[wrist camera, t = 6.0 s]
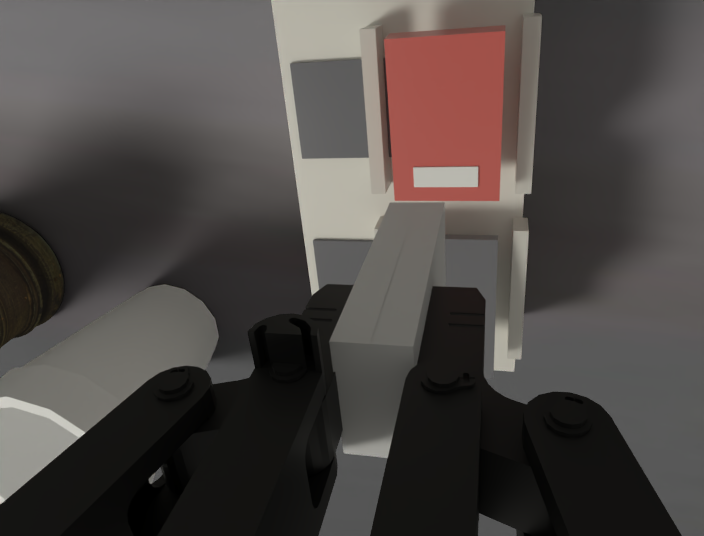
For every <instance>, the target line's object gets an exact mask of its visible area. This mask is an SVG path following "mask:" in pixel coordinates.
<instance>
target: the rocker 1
mask: <svg viewBox="0 0 704 536" xmlns="http://www.w3.org/2000/svg"><path fill="white" fill-rule="evenodd" d="M384 47H385V62H386V77H387V92H388V107H389V122H390V137H391V153H392V168H393V183H394V198H395V201H499V200H500V171H501V143H502V114H503V86H504V57H505V25H501V26H487V27H473V28H459V29H445V30H431V31H417V32H402V33H390V34H389V35H388V36H387V37H386V38H385V39H384Z"/></svg>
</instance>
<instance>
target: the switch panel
mask: <svg viewBox="0 0 704 536" xmlns="http://www.w3.org/2000/svg"><path fill="white" fill-rule="evenodd" d="M271 2H272V9H273V17H274V24H275V31H276V38H277V46H278V53H279V60H280V67H281V75H282V82H283V89H284V97H285V104H286V111H287V118H288V126H289V133H290V140H291V147H292V155H293V162H294V169H295V176H296V184H297V191H298V198H299V205H300V213H301V220H302V227H303V235H304V242H305V249H306V256H307V264H308V271H309V278H310V285H311V293H312V295H313V294H314V293H316V292H317V291H318V290H320V289H321V288H322V287H324V286H325V285H326V284H342V285H354V283H355V281H356V279H357V277H358V274H359V272H360V270H361V267H362V265H363V263H364V261H365V258H366V256H367V254H368V251H369V249H370V247H371V245H372V242H373V240H374V238H375V235H376V233H377V231H378V229H379V226H380V224H381V222H382V219H383V217H384V215H385V213H386V210H387V208H388V206H389V203H390V202H445V234H452V235H498V256H497V286H496V316H495V346H494V370H498V371H512V372H514V367H515V359H521V351H522V335H523V318H524V302H525V286H526V270H527V253H528V237H529V227H528V218H523V205H524V194H531V189H532V172H533V156H534V140H535V124H536V107H537V91H538V75H539V59H540V42H541V26H542V15H541V14H540V13H534V6H535V0H271ZM501 25H505V57H504V86H503V114H502V143H501V171H500V200H499V201H395V198H394V183H393V168H392V153H391V137H390V122H389V107H388V92H387V77H386V62H385V47H384V39H385V38H386V37H387V36H388V35H389V34H390V33H402V32H417V31H431V30H445V29H459V28H473V27H487V26H501Z"/></svg>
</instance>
